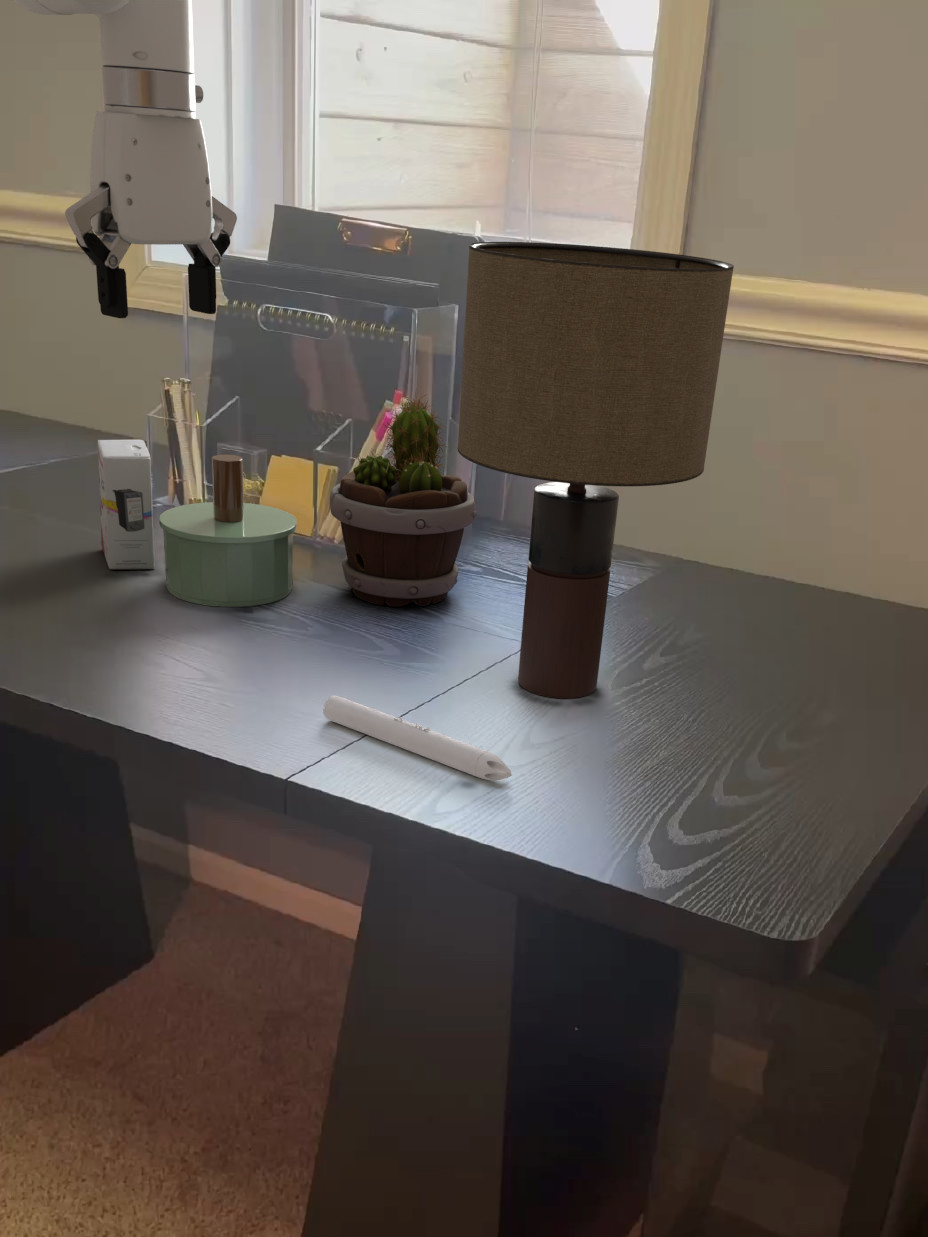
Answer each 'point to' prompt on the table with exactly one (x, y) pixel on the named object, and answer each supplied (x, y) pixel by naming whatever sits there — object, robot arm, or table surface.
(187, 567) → the green round container
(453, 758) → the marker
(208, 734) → the table surface
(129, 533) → the ink box
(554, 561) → the lamp
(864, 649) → the table surface
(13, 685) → the table surface
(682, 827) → the table surface
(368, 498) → the flowerpot
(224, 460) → the lid
